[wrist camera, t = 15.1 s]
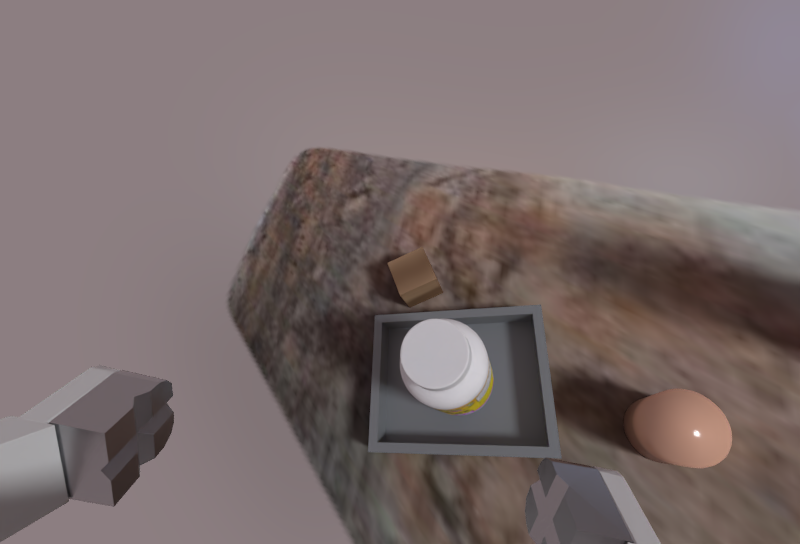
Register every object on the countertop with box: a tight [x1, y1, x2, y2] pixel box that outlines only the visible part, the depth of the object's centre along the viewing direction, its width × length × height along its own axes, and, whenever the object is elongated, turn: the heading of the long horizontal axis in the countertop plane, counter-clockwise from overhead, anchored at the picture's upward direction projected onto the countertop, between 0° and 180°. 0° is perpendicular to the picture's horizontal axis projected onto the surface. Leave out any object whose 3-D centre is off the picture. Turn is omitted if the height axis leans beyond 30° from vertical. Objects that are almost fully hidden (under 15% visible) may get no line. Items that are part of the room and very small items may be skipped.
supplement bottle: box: [400, 319, 494, 416], centre depth 31 cm, size 7×7×13 cm
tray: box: [368, 305, 561, 458], centre depth 35 cm, size 13×16×3 cm
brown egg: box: [623, 389, 732, 468], centre depth 28 cm, size 5×5×6 cm
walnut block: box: [388, 247, 443, 307], centre depth 40 cm, size 4×4×4 cm
